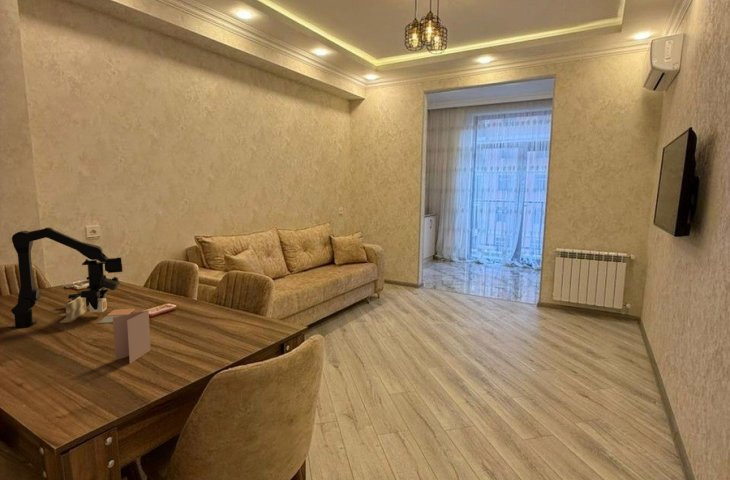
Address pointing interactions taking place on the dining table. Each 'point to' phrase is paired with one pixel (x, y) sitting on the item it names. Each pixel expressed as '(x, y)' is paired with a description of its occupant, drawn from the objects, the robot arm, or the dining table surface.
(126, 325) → the greeting card
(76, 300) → the beech screen
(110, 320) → the slate tile
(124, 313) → the terracotta tile
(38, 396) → the dining table surface
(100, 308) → the marked cube
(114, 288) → the robot arm
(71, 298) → the end cap
